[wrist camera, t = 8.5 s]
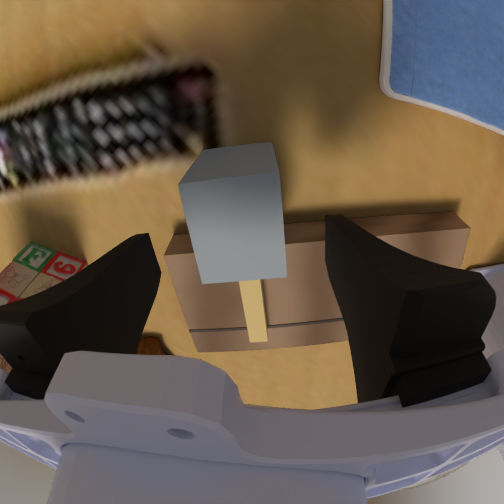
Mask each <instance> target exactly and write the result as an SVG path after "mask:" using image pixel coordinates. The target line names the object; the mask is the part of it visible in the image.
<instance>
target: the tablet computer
mask: <svg viewBox="0 0 504 504" xmlns="http://www.w3.org/2000/svg"><path fill="white" fill-rule="evenodd" d="M379 85H380V88H381V91H382V92H383V93H384V94H385V95H386V96H388V97H390V98H393V99H396V100H400V101H404V102H408V103H412V104H416V105H420V106H423V107H427V108H430V109H433V110H437V111H440V112H443V113H446V114H449V115H451V116H454V117H457V118H460V119H463V120H466V121H468V122H471V123H474V124H476V125H479V126H481V127H484V128H486V129H489V130H491V131H493V132H496V133H498V134H500V135H502V136H504V0H383V33H382V52H381V65H380V75H379Z"/></svg>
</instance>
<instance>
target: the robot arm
mask: <svg viewBox="0 0 504 504" xmlns="http://www.w3.org/2000/svg"><path fill="white" fill-rule="evenodd" d="M325 262H326V267H327V272H328V276H329V280H330V283H331V286H332V289H333V291H334V294H335V297H336V300H337V303H338V306H339V308H340V311H341V314H342V317H343V320H344V323H345V327H346V330H347V335H348V340H349V345H350V350H351V356H352V362H353V368H354V374H355V382H356V389H357V398H358V403H357V404H351V405H345V406H338V407H331V408H323V409H315V410H305V409H290V408H278V407H268V406H259V405H250V404H244V403H243V402H242V400H241V397H240V394H239V391H238V387H237V385H236V384H235V383H234V382H233V380H232V379H231V378H230V377H229V376H228V374H227V373H226V372H225V371H223V370H222V369H220V368H218V367H216V366H214V365H211V364H209V363H207V362H205V361H203V360H201V359H195V358H189V357H182V356H176V355H140V354H137V351H138V346H139V342H140V338H141V335H142V332H143V329H144V326H145V324H146V321H147V318H148V316H149V313H150V310H151V308H152V305H153V302H154V300H155V297H156V294H157V291H158V287H159V282H160V277H161V270H160V267H159V264H158V261H157V258H156V255H155V252H154V249H153V246H152V243H151V239H150V236H149V233H144V234H136V235H134V236H132V237H130V238H128V239H126V240H125V241H123V242H122V243H120V244H119V245H117V246H116V247H115V248H113V249H112V250H110V251H109V252H107V253H106V254H105V255H103V256H102V257H100V258H99V259H97V260H96V261H94V262H93V263H91V264H90V265H88V266H87V267H86V268H84V269H83V270H81V271H79V272H78V273H76V274H74V275H73V276H71V277H69V278H67V279H66V280H64V281H62V282H60V283H58V284H56V285H54V286H52V287H50V288H48V289H46V290H44V291H41V292H39V293H37V294H34V295H32V296H29V297H26V298H24V299H21V300H18V301H14V302H11V303H8V304H5V305H1V306H0V354H1V355H2V356H3V358H4V359H5V360H6V361H7V363H8V364H9V365H10V366H11V367H12V369H11V371H10V373H8V372H6V371H5V370H3V369H0V440H1V441H3V442H4V443H5V444H7V445H9V446H11V447H12V448H14V449H16V450H18V451H20V452H22V453H24V454H26V455H28V456H29V457H32V458H33V459H35V460H37V461H39V462H41V463H43V464H45V465H48V466H50V467H52V468H54V469H56V473H55V476H54V479H53V483H52V487H51V490H50V494H49V498H48V502H47V504H367V498H372V497H375V496H379V495H383V494H386V493H389V492H392V491H396V490H399V489H402V488H405V487H408V486H411V485H414V484H416V483H419V482H422V481H424V480H427V479H429V478H432V477H434V476H437V475H439V474H442V473H444V472H446V471H448V470H451V469H453V468H455V467H457V466H460V465H462V464H464V463H466V462H468V461H470V460H472V459H474V458H476V457H478V456H480V455H482V454H484V453H486V452H488V451H490V450H492V449H493V448H495V447H496V448H497V449H498V450H499V451H500V453H501V455H502V457H503V459H504V264H499V265H494V266H488V267H482V268H477V269H471V270H463V269H457V268H453V267H449V266H445V265H441V264H438V263H434V262H431V261H428V260H425V259H422V258H420V257H417V256H414V255H412V254H409V253H407V252H405V251H403V250H400V249H398V248H396V247H394V246H392V245H390V244H388V243H386V242H385V241H383V240H381V239H379V238H377V237H376V236H374V235H372V234H371V233H369V232H368V231H366V230H365V229H363V228H361V227H360V226H358V225H357V224H355V223H354V222H352V221H351V220H349V219H348V218H346V217H345V216H343V215H341V214H337V215H325Z"/></svg>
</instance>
